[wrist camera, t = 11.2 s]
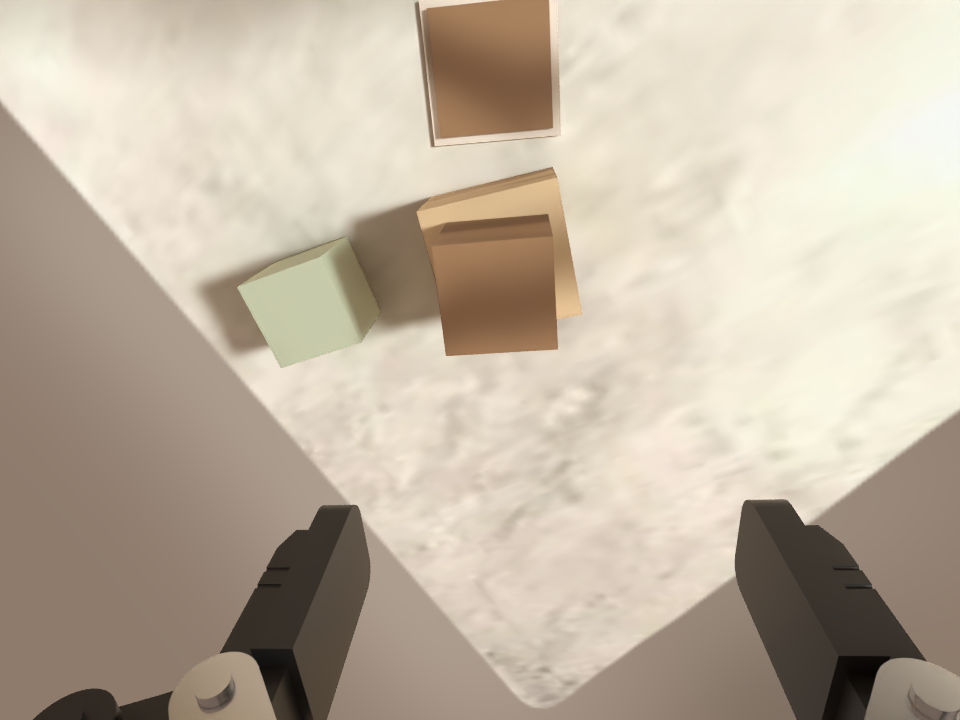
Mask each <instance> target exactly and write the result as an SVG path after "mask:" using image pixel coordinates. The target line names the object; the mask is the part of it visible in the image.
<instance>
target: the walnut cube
mask: <svg viewBox="0 0 960 720" xmlns="http://www.w3.org/2000/svg"><path fill="white" fill-rule="evenodd" d="M432 253H433V260H434V268H435V276H436V283H437V291H438V299H439V306H440V314H441V321H442V329H443V337H444V344H445V352H446V356H454V355H471V354H487V353H504V352H521V351H537V350H554V349H558V340H557V317H556V294H555V271H554V249H553V234H552V230H551V225H550V220H549V216H548V214H542V215H530V216H518V217H506V218H494V219H482V220H470V221H458V222H447V223H446V224H445V226H444V227H443V229H442V230H441V232H440V233H439V235H438V237H437V238H436V240H435V241H434V243H433V245H432Z"/></svg>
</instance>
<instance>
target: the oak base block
mask: <svg viewBox="0 0 960 720" xmlns="http://www.w3.org/2000/svg"><path fill="white" fill-rule="evenodd" d="M416 213H417V216H418V220H419V223H420V227H421V230H422V234H423V237H424V241H425V244H426V248H427V252H428V255H429V259H430V262H431V266H432V269H433V273H434V276H435V268H434V260H433V253H432V245H433V243H434V241H435V240H436V238H437V237H438V235H439V233H440V232H441V230H442V229H443V227H444V226H445V224H446V223H447V222H458V221H470V220H482V219H494V218H506V217H518V216H530V215H542V214H548V216H549V220H550V225H551V230H552V234H553V249H554V271H555V294H556V317H557V319H562V318H566V317H571V316H576V315H581V314H582V310H581V305H580V299H579V294H578V288H577V283H576V278H575V272H574V267H573V261H572V256H571V250H570V245H569V239H568V234H567V229H566V223H565V218H564V212H563V207H562V201H561V196H560V190H559V185H558V180H557V176H556V174H555V172H554V169H553V167H551V168H547V169H543V170H539V171H535V172H531V173H527V174H522V175H518V176H514V177H510V178H506V179H502V180H498V181H494V182H490V183H486V184H482V185H478V186H474V187H470V188H466V189H462V190H458V191H454V192H449V193H445V194H441V195H437V196H433V197H430V198H429V199H428V200H427V201H426V202H425V203H424V204H423V205H422V207H421V208H420V209H419V210H418V211H417V212H416ZM435 280H436V276H435Z"/></svg>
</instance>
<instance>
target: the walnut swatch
mask: <svg viewBox="0 0 960 720" xmlns="http://www.w3.org/2000/svg"><path fill="white" fill-rule="evenodd" d="M419 8H420V17H421V26H422V36H423V45H424V54H425V63H426V72H427V81H428V90H429V99H430V108H431V117H432V126H433V135H434V144H435V146H444V145H455V144H467V143H478V142H489V141H501V140H512V139H524V138H535V137H547V136H558V135H561V129H560V91H559V53H558V15H557V0H421V1H419Z"/></svg>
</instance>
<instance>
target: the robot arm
mask: <svg viewBox="0 0 960 720" xmlns="http://www.w3.org/2000/svg"><path fill="white" fill-rule="evenodd" d="M735 572H736V578H737V582H738V586H739V589H740V591H741V594H742V596H743V598H744V601H745V603H746V605H747V607H748V610H749V612H750V614H751V616H752V619H753V621H754V623H755V626H756V628H757V630H758V632H759V635H760V637H761V639H762V642H763V644H764V646H765V648H766V651H767V653H768V655H769V657H770V660H771V662H772V664H773V667H774V669H775V671H776V673H777V676H778V678H779V680H780V682H781V685H782V687H783V689H784V692H785V694H786V696H787V699H788V701H789V703H790V705H791V707H792V710H793V712H794V714H795V717H796V719H797V720H960V678H959V677H958V676H956V675H955V674H953V673H951V672H950V671H948V670H946V669H944V668H942V667H940V666H937V665H935V664H932V663H930V662H927V661H926V660H925V658H924V657H923V655H922V654H921V653H920V651H919V650H918V648H917V647H916V646H915V644H914V643H913V642H912V640H911V639H910V637H909V636H908V634H907V633H906V632H905V630H904V629H903V627H902V626H901V625H900V623H899V622H898V620H897V619H896V618H895V616H894V615H893V613H892V612H891V611H890V609H889V608H888V606H887V605H886V604H885V602H884V601H883V600H882V598H881V597H880V595H879V594H878V592H877V591H876V590H875V589H872V584H871V583H870V581H869V580H868V578H867V577H866V576H865V574H864V573H863V571H860V570H859V566H858V564H857V563H856V562H855V560H854V559H853V557H852V556H851V555H850V553H849V552H848V550H847V549H846V548H845V546H844V545H843V544H842V543H841V542H840V541H838V540H837V539H836V538H834V537H833V536H832V535H830V534H829V533H828V532H826V531H825V530H824V529H823V528H821V527H820V526H819V525H808V526H805V525H804V523H803V522H802V520H801V519H800V517H799V516H798V514H797V513H796V511H795V510H794V508H793V507H792V505H791V504H790V503H789V502H788V501H787V500H784V499H778V500H746V501H745V502H744V503H743V506H742V512H741V519H740V526H739V533H738V540H737V547H736V554H735ZM369 580H370V558H369V553H368V548H367V543H366V538H365V533H364V528H363V523H362V518H361V513H360V510H359V508H358V506H357V505H323V506H321V507H320V508H319V510H318V512H317V514H316V516H315V518H314V520H313V522H312V524H311V526H310V528H309V530H296V531H295V532H294V533H293V534H292V535H291V536H289V537H288V538H287V539H286V540H285V541H284V542H283V543H282V544H281V545H280V546H279V547H278V548H277V550H276V551H275V553H274V555H273V557H272V559H271V561H270V563H269V564H268V566H267V571H266V572H264V573H263V575H262V577H261V579H260V581H259V583H258V587H257V588H256V589H255V590H254V592H253V594H252V596H251V597H250V599H249V601H248V603H247V605H246V607H245V608H244V610H243V612H242V614H241V616H240V617H239V619H238V621H237V623H236V625H235V627H234V628H233V630H232V632H231V634H230V636H229V638H228V640H227V641H226V643H225V645H224V647H223V649H222V650H221V652H220V654H219V655H215V656H213V657H211V658H208V659H206V660H204V661H203V662H201V663H200V664H198V665H197V666H195V667H194V668H193V669H191V670H190V671H189V672H188V673H187V674H186V675H185V676H184V677H183V678H182V680H181V681H180V682H179V683H178V685H177V686H176V688H175V689H174V691H171V692H169V693H165V694H162V695H159V696H155V697H152V698H149V699H145V700H141V701H138V702H134V703H131V704H127V705H124V706H120V707H118V705H117V703H116V701H115V699H114V697H113V696H112V695H111V694H110V693H109V692H108V691H106V690H102V689H86V690H82V691H78V692H75V693H73V694H70V695H68V696H66V697H64V698H62V699H60V700H58V701H56V702H55V703H53V704H51V705H50V706H49V707H47V708H46V709H45V710H43V711H42V712H41V713H40V714H39V715H37V716H36V717H35V718H34V719H33V720H327V717H328V714H329V711H330V707H331V704H332V701H333V698H334V694H335V692H336V688H337V685H338V682H339V679H340V675H341V672H342V669H343V666H344V663H345V660H346V657H347V653H348V650H349V647H350V644H351V641H352V638H353V634H354V631H355V628H356V625H357V622H358V619H359V616H360V612H361V609H362V606H363V603H364V600H365V597H366V593H367V590H368V586H369Z"/></svg>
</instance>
